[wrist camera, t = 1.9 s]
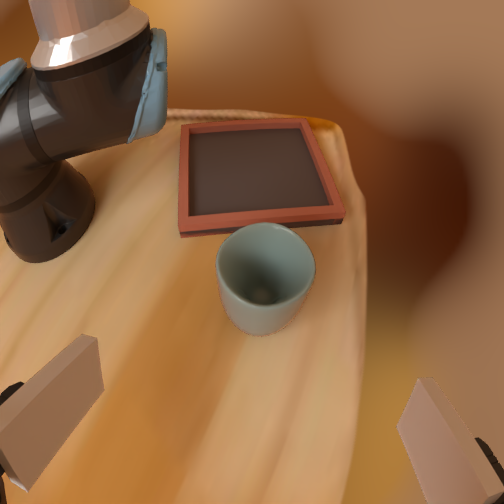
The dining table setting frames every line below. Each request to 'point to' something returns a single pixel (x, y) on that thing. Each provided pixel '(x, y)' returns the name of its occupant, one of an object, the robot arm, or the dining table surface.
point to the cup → (264, 277)
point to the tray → (253, 177)
